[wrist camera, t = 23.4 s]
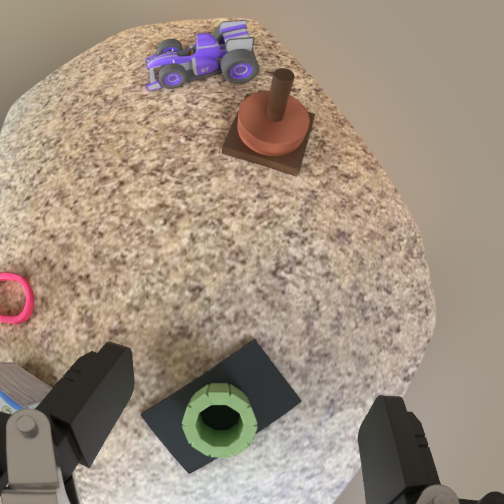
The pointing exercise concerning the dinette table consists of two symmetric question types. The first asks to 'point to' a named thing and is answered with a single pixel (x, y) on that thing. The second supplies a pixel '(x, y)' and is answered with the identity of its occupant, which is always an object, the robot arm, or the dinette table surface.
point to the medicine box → (19, 388)
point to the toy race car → (206, 57)
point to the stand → (271, 127)
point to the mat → (222, 416)
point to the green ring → (219, 440)
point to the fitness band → (29, 299)
